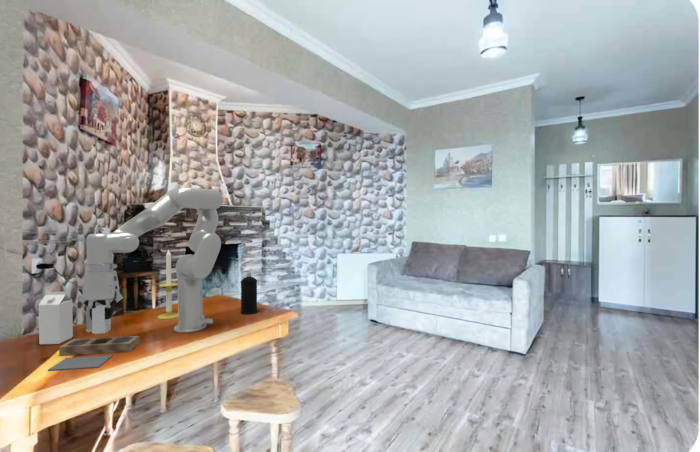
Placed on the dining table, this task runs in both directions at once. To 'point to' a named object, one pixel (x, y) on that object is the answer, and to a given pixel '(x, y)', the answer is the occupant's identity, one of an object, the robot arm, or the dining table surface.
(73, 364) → the mat
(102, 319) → the grey rectangular block
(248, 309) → the aerosol can
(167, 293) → the candle
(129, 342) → the rail
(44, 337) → the milk carton
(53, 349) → the dining table surface
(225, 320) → the dining table surface
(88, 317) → the glass holder
